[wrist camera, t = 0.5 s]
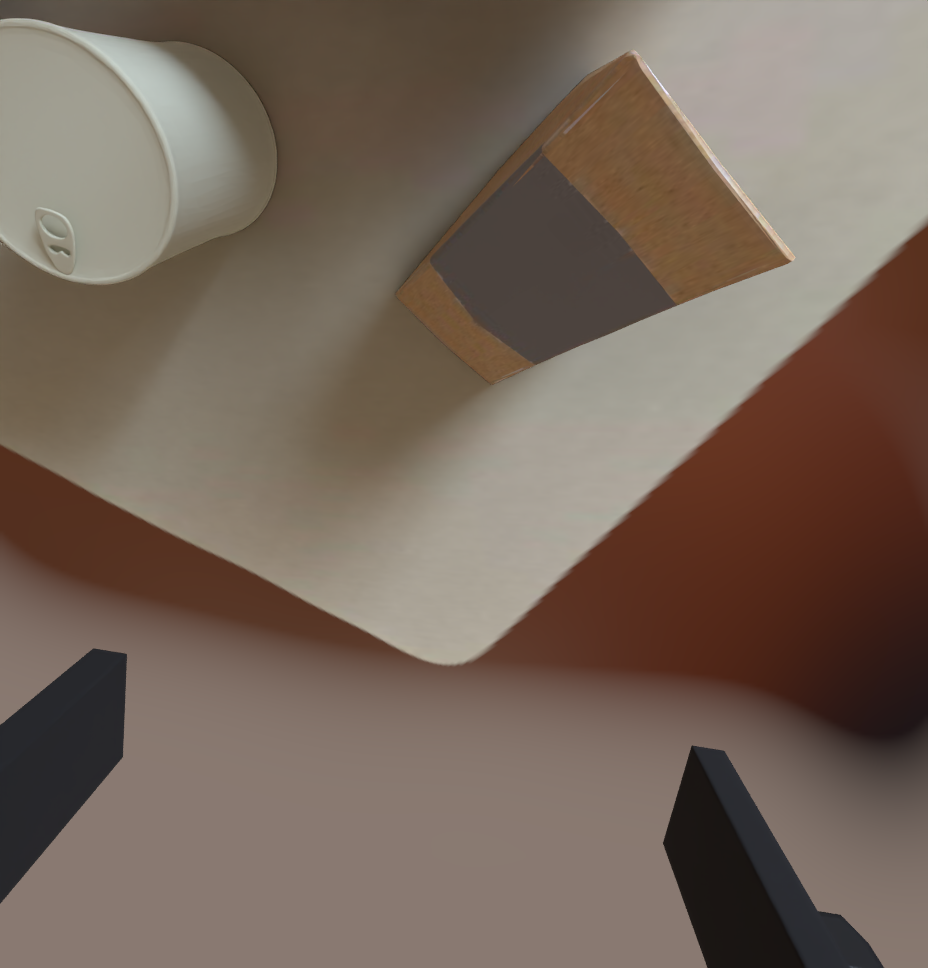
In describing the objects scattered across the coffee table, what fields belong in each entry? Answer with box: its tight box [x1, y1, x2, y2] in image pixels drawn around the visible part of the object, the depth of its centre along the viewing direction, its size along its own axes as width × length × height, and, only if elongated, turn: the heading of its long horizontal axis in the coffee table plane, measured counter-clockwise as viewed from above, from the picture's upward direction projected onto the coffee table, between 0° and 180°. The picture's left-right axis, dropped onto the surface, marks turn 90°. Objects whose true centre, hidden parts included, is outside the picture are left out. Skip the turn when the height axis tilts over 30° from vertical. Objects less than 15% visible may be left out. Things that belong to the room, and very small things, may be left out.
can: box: [0, 18, 277, 285], centre depth 29 cm, size 9×9×12 cm
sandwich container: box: [395, 49, 795, 385], centre depth 29 cm, size 9×15×15 cm, turn 137°
